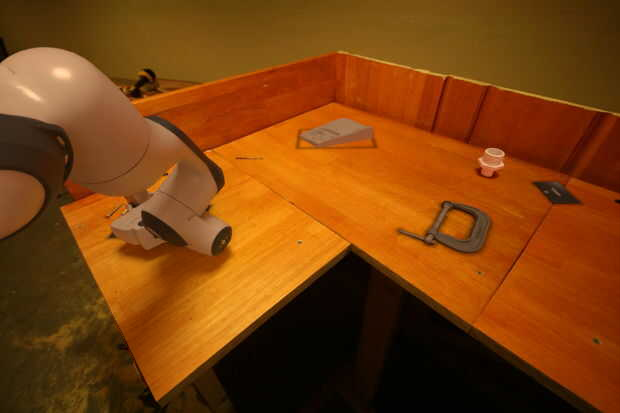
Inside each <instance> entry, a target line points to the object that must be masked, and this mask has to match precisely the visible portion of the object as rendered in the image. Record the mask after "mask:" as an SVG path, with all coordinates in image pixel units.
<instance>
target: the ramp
mask: <svg viewBox="0 0 620 413" xmlns="http://www.w3.org/2000/svg"><path fill="white" fill-rule="evenodd" d="M373 135H374V126H371V125H364V124H362V123H360V122H358V121H356V120H353V119H350V118H347V117H341V118H337V119H335V120H332V121H330V122H327V123H325V124H322V125H320V126H317V127H315V128H311V129H310V130H307V131H305V132H303V133H301V134H299V136H298V137H299V139H300V140H302V141H304V142H306V143H308V144H309V145H311V146H313V147H315V148H317V149H320V148H327V147H333V146H338V145H344V144H350V143H355V142H356V143H357V142H361V141H368V140H372V139H373V137H374V136H373Z"/></svg>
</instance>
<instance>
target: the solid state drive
mask: <svg viewBox="0 0 620 413" xmlns="http://www.w3.org/2000/svg"><path fill="white" fill-rule="evenodd" d="M533 184H534V185H535V186H536V187H537V189H539V190H540V192H541V193H542V194H543V195H544V196H545V197H546V198H547V199H548V200H549V201H550V202H551V203H552V204H556V205H557V204H560V205H561V204H563V205H569V204H571V205H577V204H578V205H579V204H580V203H581V202H580V201H579V200H578V199H577V198H576V197H575V196H574V195H573V194H572V193H571V192H569V190H567V189H566V188H565V187H564V186H563V184H561V183H560V182H558V181H534V182H533Z"/></svg>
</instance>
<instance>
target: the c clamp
mask: <svg viewBox="0 0 620 413" xmlns="http://www.w3.org/2000/svg"><path fill="white" fill-rule="evenodd" d="M441 206H442V208H441V211H440V212H439V215H438V217H437V218H436V219H435V222H434V223H433V225H432V227H430V228H428V230H427V232H426V234H425V237H423V236H420V235H417V234H414V233H411V232H407V231H405V230H403V229H399V230H398V233H400V234H403V235H406V236H409V237H411V238H415V239H417V240H421V241H424V244H426V245H434V244H436V241H437V242H439V243H440V244H442V245H444V246H446V247H448V248H450V249H453V250H455V251H457V252H460V253H465V254H472V253H476V252H478V251H480V250H481V248H482V247H483V244H484V241H485V238H486V236H487V233H488V230H489V227H490V225H491V220H490V218H489V216H488V215H487V214H486V213H485V212H484V211H483V210H481V209H480V208H477V207H474V206H473V205H472V206H471V205H468V204H464V203H460V202H452V201H451V200H448V199H447V200H443V201H442V203H441ZM453 209H454V210H458V211H460V212H464V213H467V214H469V215H471V216H472V217H473V218H474V219H475V221H474V224H473V226H472V229H471V231H470V234H469V236H468V238H467V239H460V238H457V237H455V236H452V235H450V234H447V233H445V232H440V231H438V230H439V228H440V226H441V224H443V223H442V222H443V221H444V220H445V217H446V215H447V213H448V211H452V210H453Z"/></svg>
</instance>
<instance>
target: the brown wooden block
mask: <svg viewBox="0 0 620 413" xmlns="http://www.w3.org/2000/svg"><path fill="white" fill-rule="evenodd" d="M148 192H149V191H148V189H147V190H145V191H143V192H140V193H138V194H134V195H130V196H124V197H123V198H124V200H126V201H127V203H129V202H132V203H134V204H135V207H138V206H139V205H141V204H142V203H144V202H146V201H147V200H149V199H150V198H151V195H150V194H149V193H148Z"/></svg>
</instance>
